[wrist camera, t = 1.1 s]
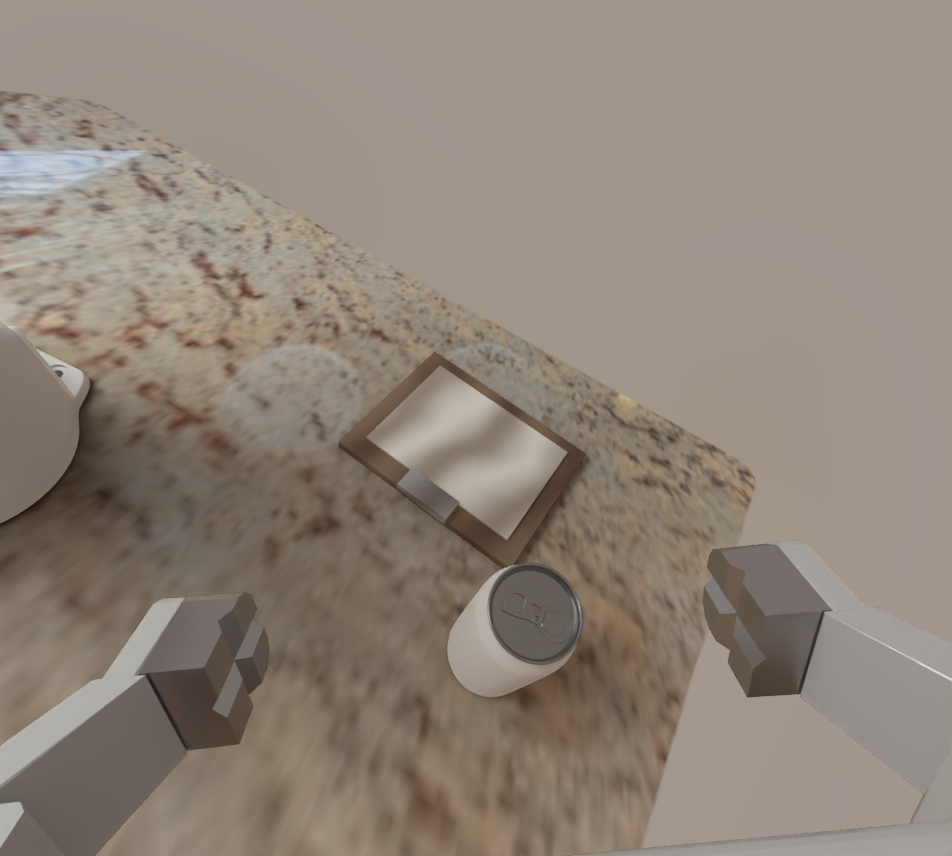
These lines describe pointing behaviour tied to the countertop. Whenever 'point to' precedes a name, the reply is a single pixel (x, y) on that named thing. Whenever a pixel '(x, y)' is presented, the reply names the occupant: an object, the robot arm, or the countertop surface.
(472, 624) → the can
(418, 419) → the clipboard
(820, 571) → the robot arm
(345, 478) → the countertop surface
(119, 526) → the countertop surface
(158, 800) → the countertop surface
